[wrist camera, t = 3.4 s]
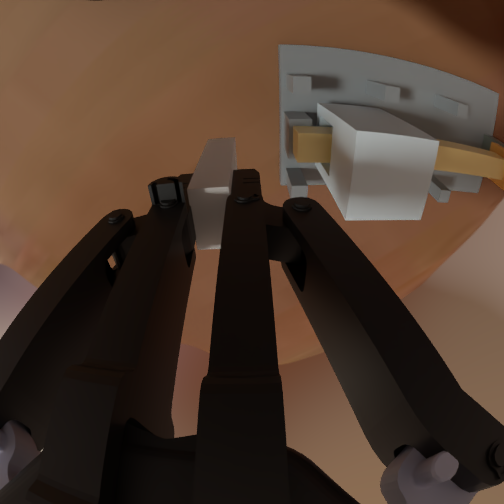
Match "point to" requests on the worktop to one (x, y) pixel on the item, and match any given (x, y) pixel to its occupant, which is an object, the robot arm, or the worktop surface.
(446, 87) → the cable comb
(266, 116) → the worktop surface
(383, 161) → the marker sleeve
